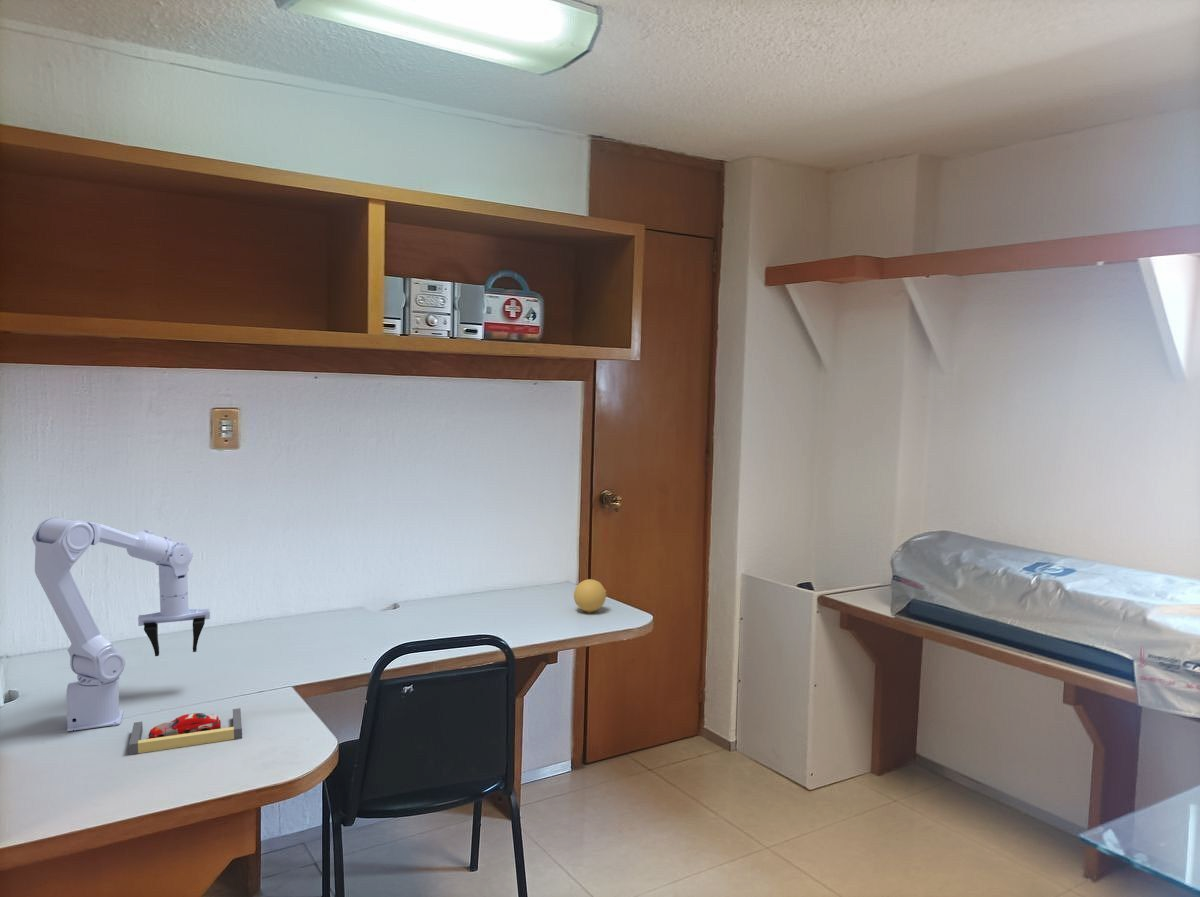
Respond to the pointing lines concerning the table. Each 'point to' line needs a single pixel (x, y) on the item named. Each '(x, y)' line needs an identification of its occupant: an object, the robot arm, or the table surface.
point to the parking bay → (184, 737)
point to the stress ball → (589, 595)
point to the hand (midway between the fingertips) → (176, 652)
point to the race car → (186, 725)
